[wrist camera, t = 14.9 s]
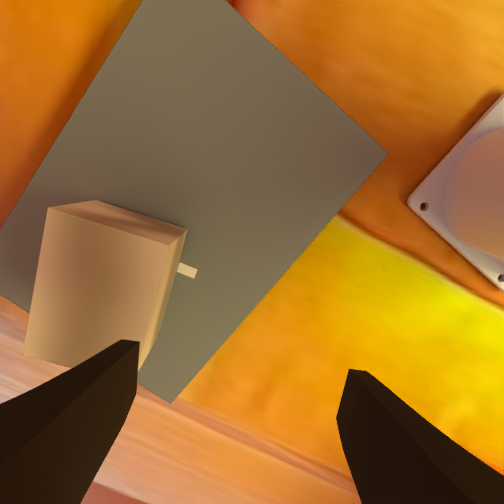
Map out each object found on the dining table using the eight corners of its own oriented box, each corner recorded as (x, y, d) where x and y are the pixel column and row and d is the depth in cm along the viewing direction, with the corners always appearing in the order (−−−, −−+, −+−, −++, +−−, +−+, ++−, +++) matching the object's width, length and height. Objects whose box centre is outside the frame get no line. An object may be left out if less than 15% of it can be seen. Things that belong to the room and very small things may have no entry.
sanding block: (189, 227, 17) (169, 245, 13) (158, 335, 19) (131, 384, 14) (100, 199, 17) (47, 207, 12) (76, 312, 18) (22, 354, 14)
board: (377, 155, 18) (389, 153, 16) (175, 388, 21) (170, 404, 20) (180, -28, 15) (173, -49, 14) (-8, 268, 19) (-29, 275, 18)
